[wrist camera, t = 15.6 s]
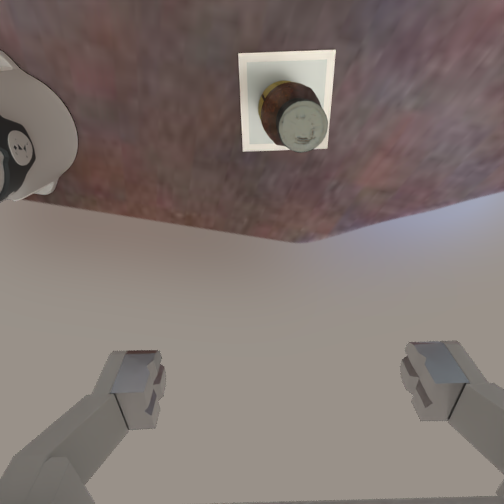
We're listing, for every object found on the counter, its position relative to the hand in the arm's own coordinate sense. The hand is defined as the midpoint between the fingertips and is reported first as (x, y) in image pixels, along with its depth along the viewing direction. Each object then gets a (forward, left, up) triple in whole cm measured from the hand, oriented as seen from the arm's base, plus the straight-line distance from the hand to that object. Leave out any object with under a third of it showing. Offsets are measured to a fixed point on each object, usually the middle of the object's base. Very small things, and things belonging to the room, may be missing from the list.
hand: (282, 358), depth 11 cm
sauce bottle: (+3, +2, -40) cm, 40 cm away
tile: (+4, +2, -41) cm, 41 cm away
